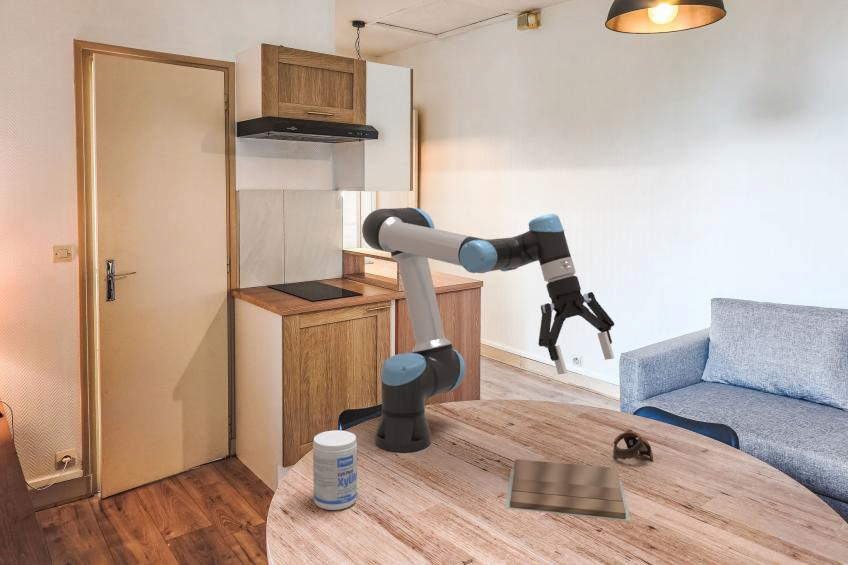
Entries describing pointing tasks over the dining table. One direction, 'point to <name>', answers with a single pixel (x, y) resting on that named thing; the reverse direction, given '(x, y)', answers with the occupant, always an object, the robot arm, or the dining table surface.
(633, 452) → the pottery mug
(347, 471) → the supplement tub
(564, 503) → the laid strip
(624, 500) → the underlay mat
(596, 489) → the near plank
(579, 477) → the far plank
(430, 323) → the robot arm
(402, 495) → the dining table surface
